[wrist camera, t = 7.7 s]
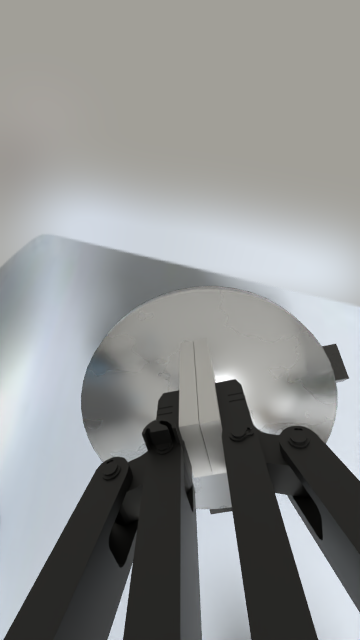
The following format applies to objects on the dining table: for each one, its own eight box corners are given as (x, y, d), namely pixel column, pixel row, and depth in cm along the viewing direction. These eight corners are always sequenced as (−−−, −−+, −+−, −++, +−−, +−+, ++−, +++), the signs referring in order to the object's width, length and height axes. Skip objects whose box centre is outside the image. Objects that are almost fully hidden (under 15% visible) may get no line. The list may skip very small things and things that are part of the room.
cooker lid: (128, 514, 24) (125, 529, 23) (51, 318, 19) (42, 324, 17) (337, 482, 22) (345, 496, 21) (317, 258, 17) (326, 261, 16)
